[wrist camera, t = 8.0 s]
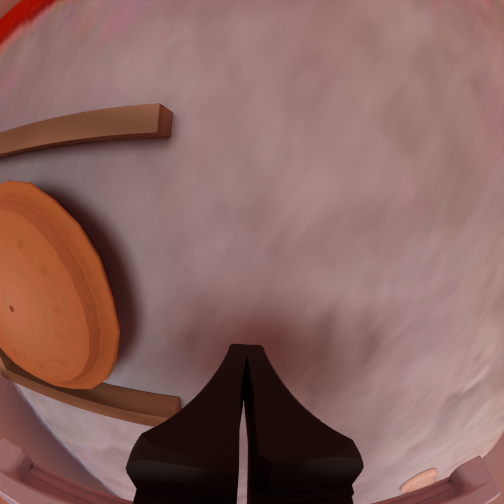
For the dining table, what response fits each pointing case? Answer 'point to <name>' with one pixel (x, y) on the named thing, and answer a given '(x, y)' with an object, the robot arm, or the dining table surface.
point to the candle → (419, 481)
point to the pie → (53, 292)
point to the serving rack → (75, 132)
